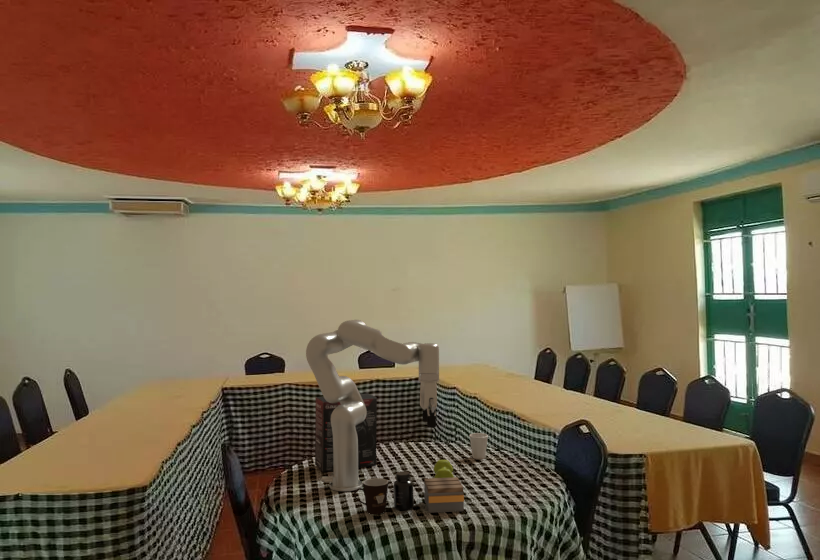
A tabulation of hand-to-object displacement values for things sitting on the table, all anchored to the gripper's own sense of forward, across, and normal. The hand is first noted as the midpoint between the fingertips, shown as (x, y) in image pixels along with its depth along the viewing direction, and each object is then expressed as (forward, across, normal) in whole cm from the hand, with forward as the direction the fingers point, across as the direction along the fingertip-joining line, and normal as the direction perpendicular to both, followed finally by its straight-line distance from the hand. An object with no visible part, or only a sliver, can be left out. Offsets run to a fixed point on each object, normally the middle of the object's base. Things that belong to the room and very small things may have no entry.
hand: (429, 424), depth 233 cm
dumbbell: (+27, -15, +8) cm, 32 cm away
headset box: (+27, -45, -28) cm, 60 cm away
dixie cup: (+26, -48, +31) cm, 63 cm away
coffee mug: (+27, +12, -22) cm, 37 cm away
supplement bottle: (+26, +10, -11) cm, 31 cm away
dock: (+26, +11, +3) cm, 29 cm away
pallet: (+20, +11, +3) cm, 23 cm away
